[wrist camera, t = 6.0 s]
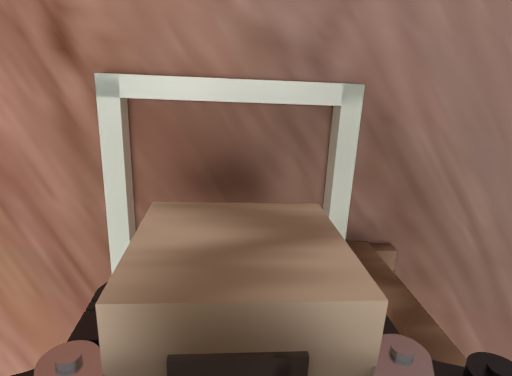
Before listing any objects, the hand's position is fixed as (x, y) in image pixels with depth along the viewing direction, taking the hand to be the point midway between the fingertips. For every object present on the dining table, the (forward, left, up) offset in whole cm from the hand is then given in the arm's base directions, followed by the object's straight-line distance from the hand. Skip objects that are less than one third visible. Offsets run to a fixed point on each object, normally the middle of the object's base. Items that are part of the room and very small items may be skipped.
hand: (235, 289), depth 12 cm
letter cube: (0, 0, -1) cm, 1 cm away
